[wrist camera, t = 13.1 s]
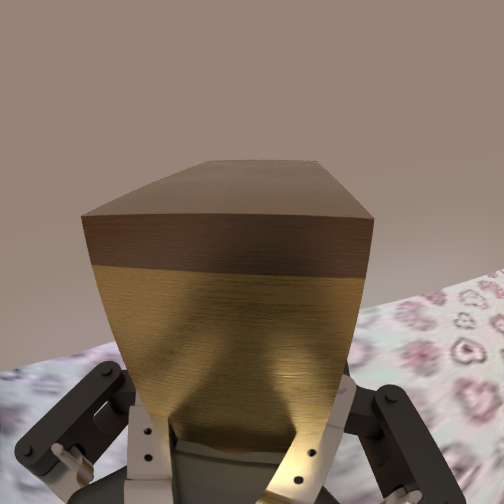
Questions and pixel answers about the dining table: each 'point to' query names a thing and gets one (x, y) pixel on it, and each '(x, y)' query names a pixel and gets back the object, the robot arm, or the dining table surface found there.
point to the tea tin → (234, 296)
